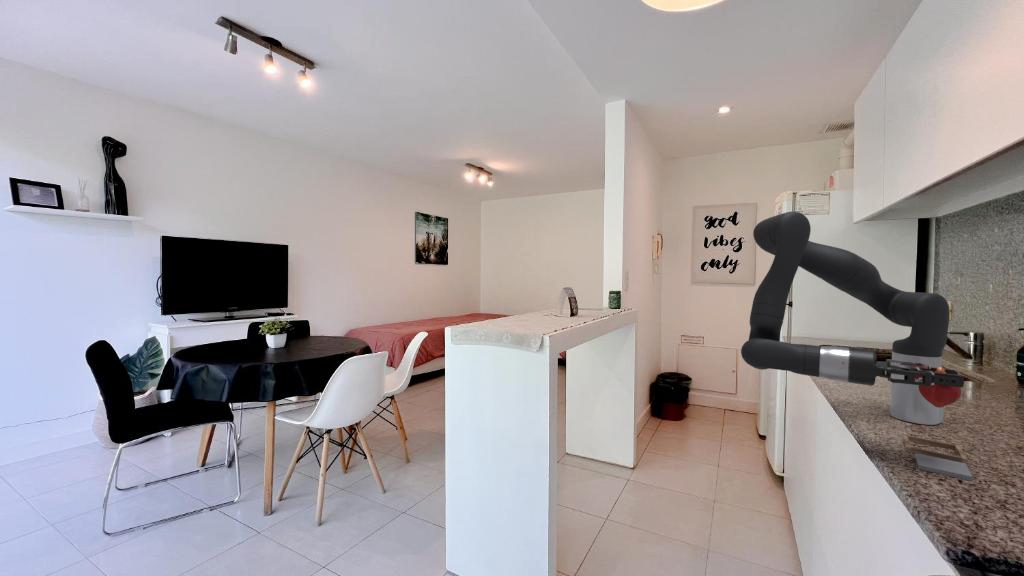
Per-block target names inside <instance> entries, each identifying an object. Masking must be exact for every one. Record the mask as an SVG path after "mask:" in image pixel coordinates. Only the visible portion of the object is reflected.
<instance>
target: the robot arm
mask: <svg viewBox="0 0 1024 576" xmlns="http://www.w3.org/2000/svg"><path fill="white" fill-rule="evenodd" d="M811 229H812V228H811V222H810V221H809V219H808V217H807V216H806V215H805V214H804V213H802V212H799V211H794V210H793V211H788V212H787V211H786V212H784V213H780V214H777V215H774V216H770V217H768V218H766V219H764V220H761V221H759V222H758V223H757V224H756V226H755V227H754V228H753V233H752V234H753V235H752V236H753V238H754V241H755V243H756V245H757V246H758V247H759V248H760V249H762V250H763V251H764V252H767V253H768V254H771V255H773V256H774V258H773V261H772V263H771V265H770V267H769V269H768V271H767V273H766V275H765V276H764V278H763V279H762V281H760V282H761V283H760V284H759V285H758V288H757V289H756V291H755V294H754V297H753V300H752V304H751V310H750V315H749V326H750V330H749V335H748V340H746V341H745V342H744V343H743V344H742V346H741V349H740V353H741V357H742V360H743V361H744V362H745V363H746V364H747V365H749V366H751V367H752V368H755V369H757V370H763V371H764V370H768V369H769V370H779V371H786V372H787V371H788V372H790V373H793V374H797V375H802V376H809V377H816V378H823V379H827V380H830V381H836V382H842V383H849V384H851V383H852V384H857V385H863V386H864V385H865V386H874V385H875V384H876V378H877V377H879V378H885V379H887V380H886V381H888V382H890V400H889V402H890V403H889V407H890V408H889V415H890V417H892V418H895V419H897V420H901V421H904V422H908V423H913V424H919V425H929V426H936V425H937V426H938V425H939V424H943V423H944V415H945V414H944V411H945V410H944V408H945V406H944V407H941V408H937V407H935V406H933V405H932V404H931V403H930V402H928V401H927V400H926V399H925V398H924V397H923V396H922V395H921V393H920V392H919V388H918V386H919V385H922V386H927V387H929V386H931V385H935V384H937V385H945V386H952V387H960V388H961V389H962V388H963V387H964V386H965V377H964V376H963V375H961V374H958V371H957V370H956V369H949V368H944V369H945V370H944V371H945V372H946V373H947V374H945V373H937V372H935V371H936V370H937V368H939V367H942V364H943V362H942V361H943V360H942V359H943V351H944V348H945V346H946V345H947V340H948V332H949V325H950V318H951V317H950V315H951V314H950V305H949V302H948V300H947V299H946V298H945V297H944V296H942V295H941V294H938V293H934V292H918V291H917V292H915V291H913V292H912V291H906V290H905V291H904V290H901V289H899V288H896V287H893V286H892V285H891V284H889V283H886V282H885V281H884V280H882V276H881V274H880V271H879V270H878V269H877V267H876V266H875V265H874V264H873V263H871V262H870V261H868V260H867V259H865V258H863V257H861V256H860V255H858V254H856V253H854V252H852V251H850V250H847V249H843V248H839V247H836V246H832V245H827V244H822V243H818V242H815V241H811V240H810V238H811V237H810V236H811ZM798 268H801V269H802V270H805V271H806V272H808V273H810V274H811V275H813V276H815V277H816V278H818V279H821V280H823V281H825V282H826V283H827V284H829V285H830V286H833V287H834V288H836V289H837V290H840V291H841V292H844V293H845V294H847V295H849V296H851V297H853V298H855V299H856V300H858V301H860V302H862V303H864V304H865V305H868V306H869V307H870V308H872V309H873V310H875V311H876V312H877V313H878V314H879V315H881V316H883V317H884V318H885V319H886V320H889V321H890V322H891V323H892V324H896V325H898V326H902V327H909V328H911V330H910V334H909V336H907V337H904V338H902V339H896V340H894V341H893V342H892V347H891V350H892V351H891V359H890V358H888V359H887V358H886V359H885V361H880V360H879V361H878V360H877V352H876V351H875V350H872V349H863V348H855V347H844V346H833V345H830V346H829V345H827V346H825V345H823V346H821V345H816V344H815V345H813V344H803V343H801V344H800V343H791V342H787V341H781V332H782V331H781V330H782V327H783V325H784V324H783V323H784V319H785V315H786V309H787V308H786V307H787V303H788V298H789V295H790V292H791V288H792V286H793V285H792V284H793V282H794V279H795V276H796V274H797V272H798ZM942 368H943V367H942ZM922 378H923V380H921V379H922Z"/></svg>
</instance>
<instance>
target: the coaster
mask: <svg viewBox="0 0 1024 576" xmlns="http://www.w3.org/2000/svg"><path fill="white" fill-rule="evenodd" d="M914 457H915V458H914V459H915V462H916V464H917V465H916V466H917V469H918V470H922V471H926V472H931V473H935V474H940V475H944V476H948V477H953V478H958V479H961V480H967V481H971V482H973V481H974V479H973V478H974V476H973V474H972V473H971V471H970V469H969V468H968V466H967V464H965V463H961V462H956V461H951V460H946V459H942V458H937V457H932V456H927V455H922V454H917V453H914Z"/></svg>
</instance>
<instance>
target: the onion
mask: <svg viewBox="0 0 1024 576" xmlns="http://www.w3.org/2000/svg"><path fill="white" fill-rule="evenodd" d="M945 369H946V368H943V367H939V368H937V370H936V371H935V372H937V373H945V374H947V373H946V372H945V371H944V370H945ZM921 380H923V378H922V379H921ZM918 388H919V392H920V393H921V395H922V396H923V397H924V398H925V399H926V400H927V401H928V402H930V403H931V404H932V405H933V406H935V407H937V408H941V407H944V408H945V407H947V406H949V405H952V404H954V403H955V402H957V401H958V400H959V399H960V397H961V396H962V387H961V388H960V387H952V386H945V385H937V384H935V385H931V386H929V387H927V386H922V385H919V386H918Z"/></svg>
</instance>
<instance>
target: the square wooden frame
mask: <svg viewBox="0 0 1024 576" xmlns="http://www.w3.org/2000/svg"><path fill="white" fill-rule="evenodd" d="M902 441H903V445H904V448H905V452H906V451H907V452H906V453H911V452H912V453H911V454H915V453H917V454H922V455H927V456H932V457H937V458H942V459H946V460H951V461H956V462H961V463H965V464H966V465H968V463H969V462H968V461H969V459H968V457H967V455H966V454H965V452H964V451H963V449H962V447H961V446H960V445H959V444H955V443H949V442H944V441H938V440H934V439H933V440H932V439H929V438H928V439H927V438H923V437H916V436H911V435H906V434H903V435H902ZM910 442H913V443H916V444H922V445H927V446H931V447H932V446H933V447H936V448H937V447H938V448H942V449H946V450H947V449H949V450H952V451H955V452H956V454H957V455H954V454H949V453H944V452H938V451H934V450H928V449H922V448H919V447H913V446H911V444H910Z"/></svg>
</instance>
